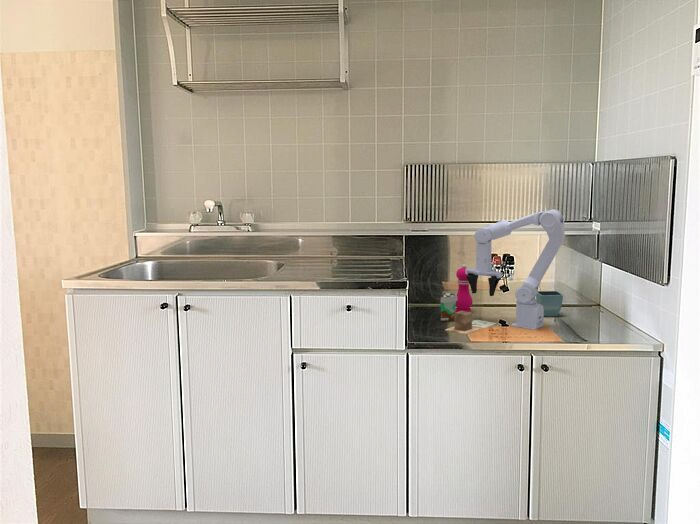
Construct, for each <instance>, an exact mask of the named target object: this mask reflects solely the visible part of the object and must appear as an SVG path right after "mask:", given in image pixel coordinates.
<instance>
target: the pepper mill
mask: <svg viewBox="0 0 700 524" xmlns="http://www.w3.org/2000/svg"><path fill="white" fill-rule="evenodd" d="M466 269H468V268H467V265H466V264H465V263H463V264H461V267H460V268H459V269H457V270H456V278H457V280H456V281H457V284H458V290H457V293H456V295H457V298H458V300H457V301H456V307H455V313H456V312H459V311H466V312H472V308H471V307H472V305H473V298H472V296H471V293H470V288H469V287H470V284H469V281H468V279H467V278H466V276H467V275H468V274H466Z"/></svg>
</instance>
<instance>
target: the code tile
mask: <svg viewBox="0 0 700 524" xmlns="http://www.w3.org/2000/svg"><path fill="white" fill-rule="evenodd" d="M493 325H497V323H496V322H491V321H486V320H480V319H473V320H472V327H475V328H480V329H482V328H483V329H486V328H489V327H491V326H493Z"/></svg>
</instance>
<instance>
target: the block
mask: <svg viewBox="0 0 700 524" xmlns="http://www.w3.org/2000/svg"><path fill="white" fill-rule="evenodd" d="M472 321H473V312H472V311H471V312H466V311H459V312H455V318H454V326H453V327H454V329H456V330H461V331H467V330H470V329H472V327H473V326H472Z"/></svg>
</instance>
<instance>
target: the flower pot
mask: <svg viewBox="0 0 700 524" xmlns="http://www.w3.org/2000/svg"><path fill="white" fill-rule="evenodd" d="M535 299H536V300H537V303H538V304H541V305H543V308H544V317H557V316H558V315H559V313H560V311H561V310H562V307H563V306H562V305H563V299H564V294H562V293H561V292H559V291H558V290H538V294H537V296H536V297H535Z"/></svg>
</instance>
